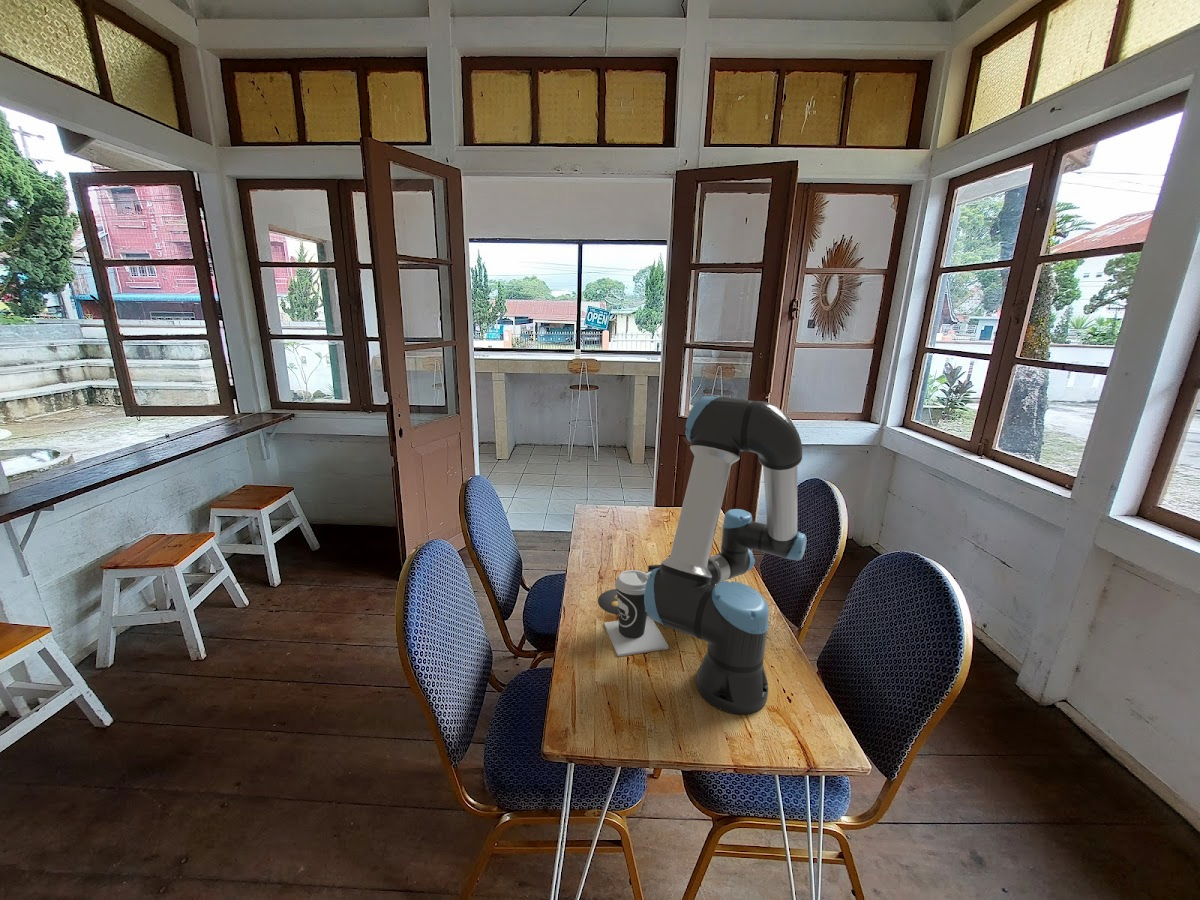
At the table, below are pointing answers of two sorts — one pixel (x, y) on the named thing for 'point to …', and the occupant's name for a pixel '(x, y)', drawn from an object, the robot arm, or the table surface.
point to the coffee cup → (631, 602)
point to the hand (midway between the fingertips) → (650, 594)
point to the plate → (636, 639)
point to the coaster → (609, 601)
